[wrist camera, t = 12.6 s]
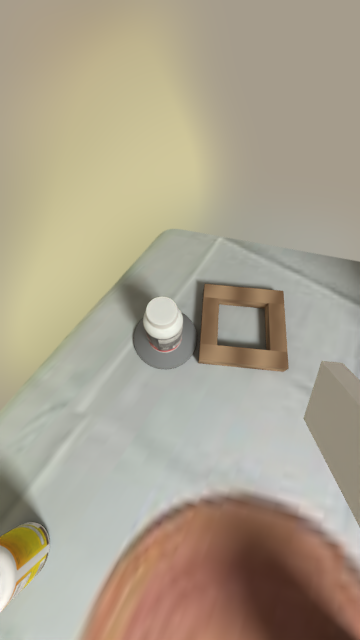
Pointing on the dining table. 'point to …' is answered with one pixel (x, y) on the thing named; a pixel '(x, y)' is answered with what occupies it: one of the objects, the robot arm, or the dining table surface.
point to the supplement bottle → (21, 558)
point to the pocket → (237, 356)
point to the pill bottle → (163, 324)
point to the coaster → (170, 358)
